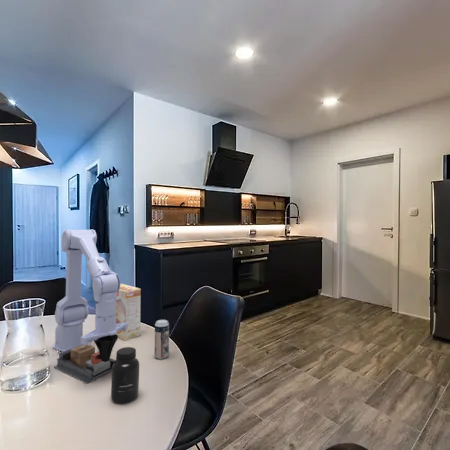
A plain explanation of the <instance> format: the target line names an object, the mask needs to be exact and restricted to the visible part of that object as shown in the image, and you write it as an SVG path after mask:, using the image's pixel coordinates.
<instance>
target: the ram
mask: <svg viewBox="0 0 450 450" xmlns="http://www.w3.org/2000/svg"><path fill="white" fill-rule="evenodd" d="M108 368H110V360H109V361H107V362H103V361H101V357H100V353H99V351H95V353H94V354H92V355H91V360H89V361H87V362H86V369H89V370H91V371H93V372H94V375H96V374H98V373H100V372H102V371H104V370H106V369H108Z"/></svg>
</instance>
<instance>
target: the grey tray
mask: <svg viewBox="0 0 450 450" xmlns="http://www.w3.org/2000/svg"><path fill="white" fill-rule="evenodd" d="M80 346H82V345H80ZM78 347H79V346H78ZM75 348H76V347H75ZM72 349H74V348H72ZM56 359H57V360H56V361H57V364H56V365H55V366H54V367H53V368H54V369H55V370H58V371H59V372H62V373H64V374H66V375H68V376H70V377H73V379H74V378H75V379H76V380H78V381H80V382H83V383H85V384H90V383H92V382H93V381H96V380H97V379H99V378H101V377H103V376H105V375H107V374H110V373H112V365H113V363H114V362H115V361H116V359H113V358H112V357H110V368H108V369H106V370H104V371H102V372H100V373H98V374H96V375H94V372H93V371H91V370H89V369H86V367H85V368H84V367H82V366H79V365H77V364H75V363H72V362H71V349H69V350H67V351H64V352H62V351H60V352H59V353H58V358H56Z"/></svg>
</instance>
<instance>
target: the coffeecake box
mask: <svg viewBox="0 0 450 450" xmlns="http://www.w3.org/2000/svg"><path fill="white" fill-rule="evenodd" d="M141 291H142V289H141V288H139V287H136V286H132V285H129V284H126V283H125V284H124V283H120V289H119V291H118V292H116V324H119V323H123V322H124V323H128V324H127V330H122V331H119V332H117V334H115V335H118V339H119V338H120V339H122V340H123V341H129V340H131V339H134V338H138V337H141V301H142V300H141V297H142V296H141V295H142V294H141Z"/></svg>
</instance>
